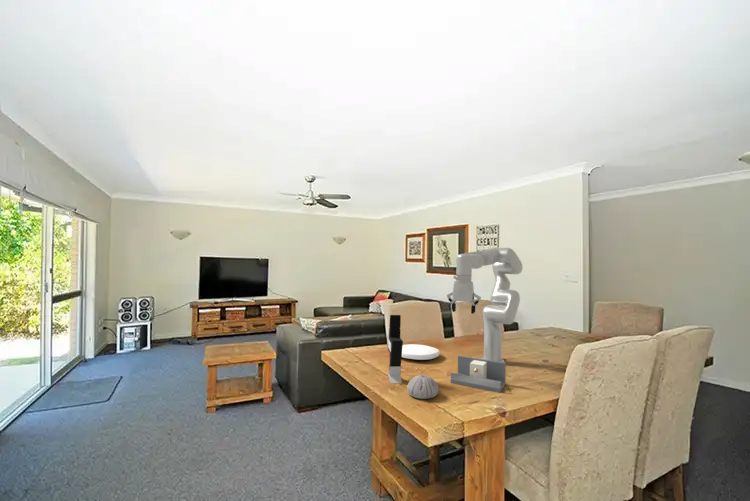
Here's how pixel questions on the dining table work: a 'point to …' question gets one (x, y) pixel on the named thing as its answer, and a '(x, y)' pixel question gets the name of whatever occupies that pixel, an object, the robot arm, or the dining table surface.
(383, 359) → the dining table surface
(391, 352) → the award
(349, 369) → the dining table surface
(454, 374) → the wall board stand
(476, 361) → the cabinet block
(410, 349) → the plate
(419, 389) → the sea urchin shell
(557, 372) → the dining table surface
